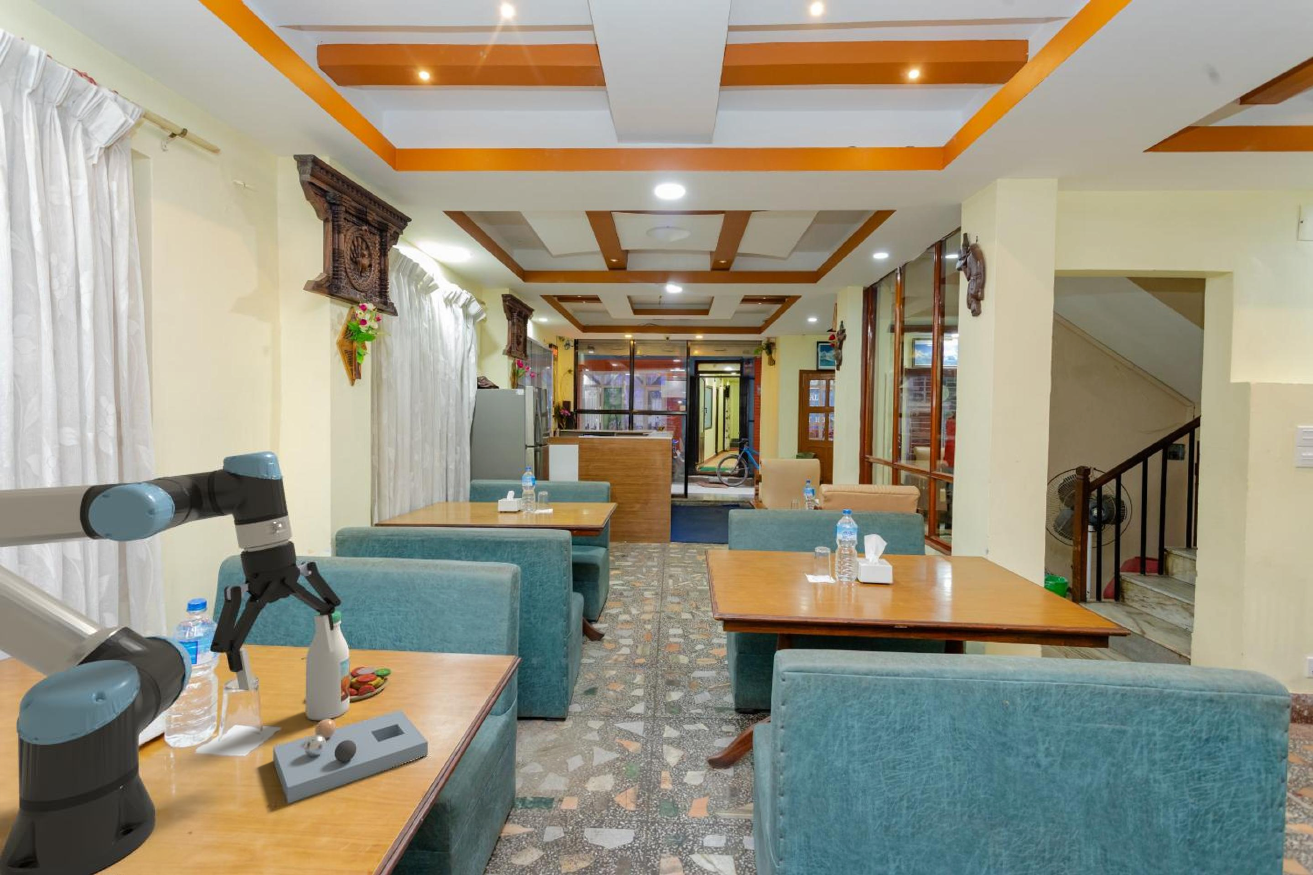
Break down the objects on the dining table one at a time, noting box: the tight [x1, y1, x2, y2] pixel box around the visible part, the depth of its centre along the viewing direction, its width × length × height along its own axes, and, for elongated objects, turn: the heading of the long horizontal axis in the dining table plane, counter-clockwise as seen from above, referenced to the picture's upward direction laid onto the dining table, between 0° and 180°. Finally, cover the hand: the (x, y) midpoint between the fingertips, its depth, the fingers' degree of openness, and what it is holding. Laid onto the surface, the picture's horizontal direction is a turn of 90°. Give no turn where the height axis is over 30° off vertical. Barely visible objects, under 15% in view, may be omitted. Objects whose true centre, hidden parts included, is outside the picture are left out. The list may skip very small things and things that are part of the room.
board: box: [272, 709, 429, 805], centre depth 103 cm, size 21×15×2 cm
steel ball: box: [304, 734, 326, 756], centre depth 99 cm, size 3×3×3 cm
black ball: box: [335, 740, 356, 762], centre depth 97 cm, size 3×3×3 cm
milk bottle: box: [305, 610, 351, 721], centre depth 119 cm, size 8×8×20 cm
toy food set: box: [350, 666, 392, 702], centre depth 130 cm, size 13×13×3 cm
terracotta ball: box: [314, 718, 337, 739], centre depth 104 cm, size 3×3×3 cm
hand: (289, 668), depth 99 cm, fingers open, 13 cm apart
